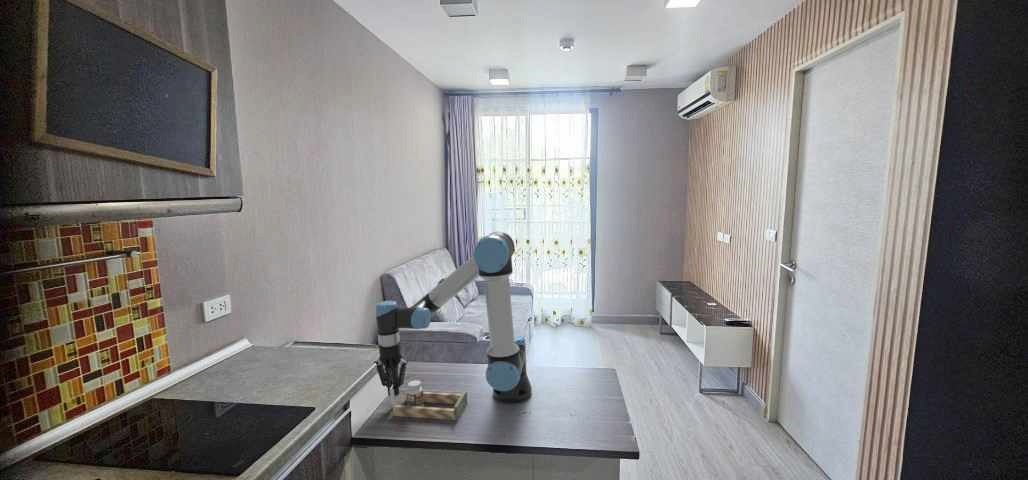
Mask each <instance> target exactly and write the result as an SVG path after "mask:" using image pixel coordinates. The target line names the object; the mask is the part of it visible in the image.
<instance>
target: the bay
mask: <svg viewBox="0 0 1028 480" xmlns="http://www.w3.org/2000/svg"><path fill="white" fill-rule="evenodd" d="M467 392H468V391H467V390H463V391H462V393H453V392H436V391H432V392H431V391H423V401H424V403H433V404H434V403H435V404H450V405H451V404H452V405H454V406H453V408H448V407H447V408H445V407H434V406H433V407H431V406H424V407H418V406H408V405H402V404H401V405H399V404H395V405H392V413H393V414H392V415H393V417H406V418H419V419H420V418H422V419H435V420H450V421H459V419H460V417H461V415H462V414H463V412H464V410H465V408H466V406H467V404H468V393H467ZM404 394H405V397H404V398H405V401H407V390H405V393H404ZM407 402H408V401H407Z"/></svg>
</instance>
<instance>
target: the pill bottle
mask: <svg viewBox="0 0 1028 480" xmlns="http://www.w3.org/2000/svg"><path fill="white" fill-rule="evenodd" d="M406 391H407V406H418V407H425V404H424V403H425V402H424V401H423V392H424V391H423V387H422V383H421V380H411V381H409V382H408V383H407V390H406Z"/></svg>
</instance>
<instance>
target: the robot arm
mask: <svg viewBox="0 0 1028 480" xmlns="http://www.w3.org/2000/svg"><path fill="white" fill-rule="evenodd" d="M514 254H515V243H514V240H513V239H512V237H511V235H509V234H508V233H506V232H504V231H494V232H492V233H491V232H490V233H489V234H488V235H484V237H482V238H481V239H480V240H479V241H478V242H477V244H476V245H475V247H474V249H473V255H472V256H471V257H470V258H469V259H467V260H466V261H465V262H464V263H462V264H461V265H460V266H459V267H458V268H457V269H455V270H454V271H453V272H452V273H450V274H449V275H448V276H447V277H446V278H445V279H444V280H442V281H441V282H440V283H438V285H436V286H435V287H434V288H432V289H431V290H430V291H429V292H428V293H427V294H425V295H424V296H423V297H422V298H420V299H419V300H418V301H416V303H414V304H413V305H412V306H409V307H398V304H397V301H395V300H385V301H381V302H379V303H377V304H376V306H375V318H376V326H377V327H376V328H377V342H378V353H379V357H378V358H376V360H375V361H374V362H373V364H374V363H376V364H377V368H376V370H377V372H378V376H379V380H380V383H381V385H382V386H383V387H386V388H387V395H388V396H389V398H390V405H391V406H394V405H397V403H398V401H399V397H398V396H399V394H400V387H401V386H403V384H404V383H405V381H404V380H405V376H406V371H407V370H406V369H407V365H408V364H409V360H408V359H407V360H405V359H403V356H402V354H401V350H402V349H401V342H400V340H401V338H400V329H410V330H412V329H413V330H414V329H415V330H423V329H428V328H429V327H430V324H431V322H432V316H433V315H434V314H435V313H436V312H438V311H439V309H441V308H442V307H443V306H445V305H446V304H447V303H448V302H449V301H451V300H453V298H455V297H456V296H458V294H459V293H461V292H462V291H463V290H464V289H466V288H467V287H469V285H470V284H472V283H473V282H474V281H475V280H477V279H478V278H479V277H480V278H481V279H482V280H483V282H484V283H483V284H484V285H483V286H484V293H485V294H484V295H485V303H486V305H485V306H486V314H487V323H488V334H489V343H490V344H489V346H488V347H487V349H486V360H487V367H486V370H485V380H486V382H487V384H488V386H489V387H491V388H492V392H493V393H492V395H493V397H494V399H495V400H497V401H499V402H500V403H501V402H502V403H506V404H517V403H521V402H524V401H526V400H528V399H529V398H530V397H531V396H532V385H531V382H530V380H529V376H528V374H527V373H528V372H527V352H526V351H527V350H526V349H527V348H526V346H527V343H526V338H525V337H523V336H522V335H517V334H515V333H514V321H513V311H512V299H511V288H510V276H512V274H513V261H512V259H513V255H514ZM399 365H400V368H399Z"/></svg>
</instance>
